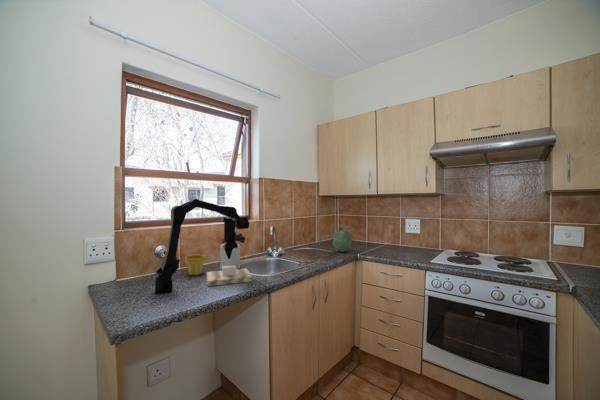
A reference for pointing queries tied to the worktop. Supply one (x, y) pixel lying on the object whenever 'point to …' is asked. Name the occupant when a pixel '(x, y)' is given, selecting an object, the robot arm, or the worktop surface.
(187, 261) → the plant pot
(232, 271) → the plug
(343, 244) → the cabbage
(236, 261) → the supplement box
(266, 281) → the worktop surface
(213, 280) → the socket board
